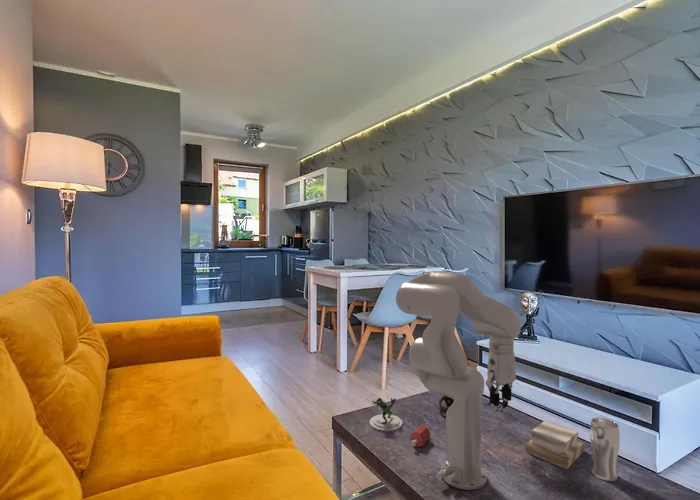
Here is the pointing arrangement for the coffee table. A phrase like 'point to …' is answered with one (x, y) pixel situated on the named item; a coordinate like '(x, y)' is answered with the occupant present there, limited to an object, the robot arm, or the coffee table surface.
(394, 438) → the coffee table surface
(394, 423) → the monster figurine
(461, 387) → the robot arm
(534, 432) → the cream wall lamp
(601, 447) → the beer glass
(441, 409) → the pottery mug
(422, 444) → the meat
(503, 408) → the creature
